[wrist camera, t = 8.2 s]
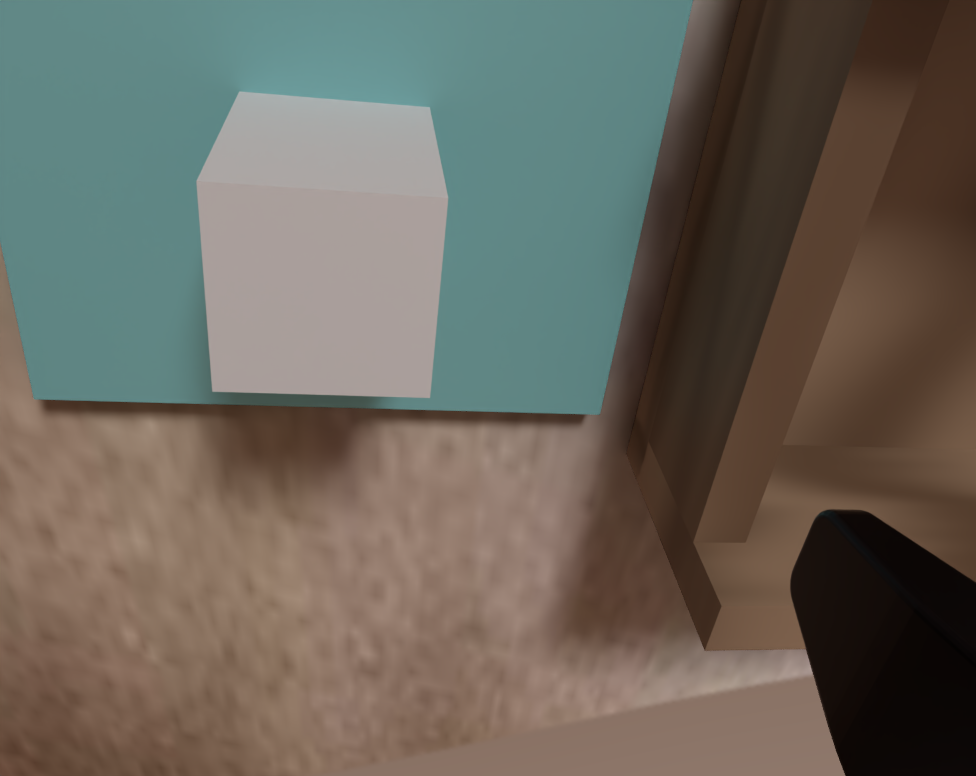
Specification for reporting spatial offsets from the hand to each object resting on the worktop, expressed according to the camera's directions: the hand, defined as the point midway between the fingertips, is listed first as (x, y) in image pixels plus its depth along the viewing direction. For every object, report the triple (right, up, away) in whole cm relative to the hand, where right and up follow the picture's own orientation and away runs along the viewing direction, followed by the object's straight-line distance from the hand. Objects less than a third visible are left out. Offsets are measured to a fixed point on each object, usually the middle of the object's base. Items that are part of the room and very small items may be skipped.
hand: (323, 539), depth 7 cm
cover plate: (-1, +5, +8) cm, 10 cm away
